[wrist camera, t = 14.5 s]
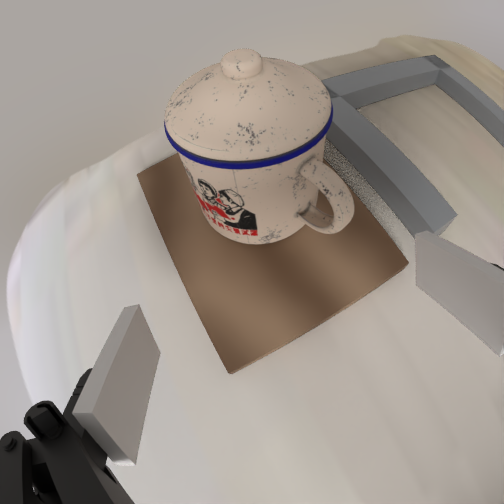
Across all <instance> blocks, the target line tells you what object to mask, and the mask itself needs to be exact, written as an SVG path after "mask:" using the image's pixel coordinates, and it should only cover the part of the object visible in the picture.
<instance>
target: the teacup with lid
mask: <svg viewBox="0 0 504 504" xmlns="http://www.w3.org/2000/svg"><path fill="white" fill-rule="evenodd" d="M332 119H333V105H332V101H331V99H330V95H329V93H328V91H327V89H326V87H325V86H324V84H323V83H322V82H321V81H320V80H319V79H318V78H317V77H316V76H315V75H314V74H313V73H311V72H310V71H308V70H307V69H305V68H303V67H301V66H299V65H296V64H294V63H291V62H288V61H284V60H280V59H274V58H266V57H261V56H260V54H259V53H257V52H256V51H254V50H251V49H237V50H233V51H230V52H228V53H227V54H225V55H224V56H223V58H222V59H221V62H220V63H217V64H214V65H212V66H209V67H207V68H204V69H202V70H200V71H199V72H197V73H195V74H194V75H192V76H191V77H189V78H188V79H187V80H185V81H184V82H183V83H182V84H181V85H180V86H179V87H178V88H177V89H176V90H175V92H174V93H173V95H172V96H171V98H170V100H169V102H168V104H167V107H166V111H165V121H164V127H165V132H166V135H167V138H168V140H169V142H170V143H171V145H172V146H173V147H174V148H175V149H176V150H177V151H178V153H179V156H180V158H181V161H182V163H183V165H184V168H185V170H186V173H187V175H188V178H189V180H190V183H191V185H192V188H193V190H194V192H195V195H196V197H197V200H198V202H199V204H200V207H201V209H202V212H203V214H204V216H205V218H206V220H207V221H208V222H209V224H210V225H211V226H212V227H213V228H214V229H215V230H216V231H217V232H219V233H220V234H221V235H223V236H225V237H227V238H229V239H231V240H234V241H237V242H241V243H246V244H267V243H272V242H276V241H279V240H282V239H284V238H287V237H289V236H291V235H292V234H294V233H295V232H297V231H298V230H299V229H301V228H302V227H303V226H304V225H305V224H306V225H308V226H309V227H311V228H312V229H314V230H316V231H318V232H321V233H324V234H334V233H337V232H339V231H341V230H342V229H343V228H344V227H345V226H347V224H348V223H349V222H350V221H351V219H352V217H353V214H354V201H353V198H352V195H351V193H350V191H349V189H348V187H347V186H346V184H345V183H344V181H343V180H342V179H341V178H340V177H339V176H338V175H337V174H336V173H335V172H334V171H333V170H332V169H331V168H329V167H328V166H327V165H325V164H324V163H323V155H324V147H325V139H326V133H327V131H328V130H329V128H330V125H331V123H332ZM319 190H320V191H321V192H322V193H323V194H324V195H325V197H326V198H327V199H328V201H329V203H330V205H331V206H332V209H333V212H334V216H332V215H328V214H326V213H324V212H322V211H321V210H319V209H318V208H316V203H317V198H318V191H319Z"/></svg>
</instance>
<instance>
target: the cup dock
mask: <svg viewBox="0 0 504 504" xmlns="http://www.w3.org/2000/svg"><path fill="white" fill-rule="evenodd" d="M321 82H322V83H323V84H324V86H325V87H326V89H327V91H328V93H329V95H330V99H331V101H332V105H333V119H332V123H331V125H330V128H329V130H328V131H327V133H326V138H327V139H328V140H329V141H330V142H331V143H332V144H333V145H334V146H335V147H336V148H337V149H338V150H339V151H340V152H341V153H342V154H343V155H344V156H345V158H346V159H347V160H348V161H349V162H350V163H351V164H352V165H353V166H354V167H355V168H356V169H357V170H358V171H359V173H360V174H361V175H362V176H363V177H364V178H365V179H366V180H367V181H368V183H369V184H370V185H371V186H372V187H373V188H374V189H375V191H376V192H377V193H378V194H379V195H380V196H381V197H382V199H383V200H384V201H385V202H386V203H387V205H388V206H389V207H390V208H391V209H392V211H393V212H394V213H395V214H396V215H397V217H398V218H399V219H400V220H401V222H402V223H403V224H404V225H405V227H406V228H407V229H408V231H409V232H410V233H411V234H412V236H413V237H414V238H415V234H417V233H420V232H424V231H429V232H431V233H433V234H435V235H437V236H438V235H440V234H441V233H442V232H444V231H445V230H446V228H447V227H448V226H449V225H450V224H451V222H452V221H453V220H454V219H455V217H456V216H457V213H456V212H455V211H454V210H453V208H452V207H451V206H450V205H449V204H448V202H447V201H446V200H445V199H444V198H443V196H442V195H441V194H440V193H439V192H438V191H437V189H436V188H435V187H434V186H433V185H432V184H431V183H430V182H429V180H428V179H427V178H426V177H425V176H424V175H423V174H422V173H421V172H420V171H419V170H418V168H417V167H416V166H415V165H414V164H413V163H412V162H411V161H410V160H409V159H408V158H407V157H406V156H405V155H404V154H403V153H402V152H401V151H400V150H399V149H398V148H397V147H396V146H395V145H394V144H393V143H392V142H391V141H390V140H389V139H388V138H387V137H386V136H385V135H384V134H383V133H382V132H380V131H379V130H378V129H377V128H376V127H375V126H374V125H373V124H372V123H371V122H370V121H368V120H367V119H366V118H365V117H364V116H363V115H362V114H360V113H359V112H358V111H357V110H356V109H357V108H360V107H363V106H365V105H368V104H371V103H374V102H377V101H380V100H383V99H386V98H390V97H393V96H396V95H399V94H402V93H406V92H409V91H412V90H416V89H419V88H422V87H426V86H429V85H433V84H436V85H437V86H438V87H439V88H441V89H442V90H443V91H444V92H446V93H447V94H448V95H449V96H451V97H452V98H453V99H454V100H455V101H456V102H458V103H459V104H460V105H461V106H462V107H463V108H464V109H466V110H467V111H468V112H469V113H470V114H471V115H472V116H473V117H474V118H475V119H476V120H478V121H479V122H480V123H481V124H482V125H483V126H484V127H485V128H486V129H487V130H488V131H489V132H490V133H491V134H492V135H493V136H494V137H495V138H496V139H497V140H498V141H499V142H500V144H501V145H502V146H503V147H504V110H502V109H501V108H500V107H499V106H498V105H497V104H496V103H495V102H494V101H493V100H492V99H491V98H489V97H488V96H487V95H486V94H485V93H484V92H482V91H481V90H480V89H479V88H478V87H477V86H475V85H474V84H473V83H472V82H470V81H469V80H468V79H467V78H465V77H464V76H463V75H462V74H460V73H459V72H458V71H456V70H455V69H454V68H452V67H451V66H450V65H448V64H447V63H446V62H444V61H443V60H441V59H440V58H438V57H437V56H436V55H431V56H424V57H419V58H413V59H407V60H402V61H397V62H392V63H388V64H383V65H379V66H374V67H370V68H366V69H362V70H358V71H354V72H350V73H347V74H343V75H339V76H336V77H332V78H329V79H325V80H322V81H321Z"/></svg>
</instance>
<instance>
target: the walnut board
mask: <svg viewBox="0 0 504 504" xmlns="http://www.w3.org/2000/svg"><path fill="white" fill-rule="evenodd" d="M323 163H324V164H325V165H327V166H328V167H329V168H331V169H332V170H333V171H334V172H335V173H336V174H337V172H336V171H335V170H334V169H333V168H332V167H331V166H330V165H329V164H328V163H327V161H326V160H325V159H324V158H323ZM337 175H338V174H337ZM338 176H339V175H338ZM137 177H138V179H139V182H140V184H141V187H142V189H143V192H144V194H145V197H146V199H147V202H148V204H149V207H150V209H151V211H152V214H153V216H154V219H155V221H156V223H157V226H158V228H159V230H160V233H161V235H162V237H163V240H164V242H165V244H166V247H167V249H168V251H169V253H170V256H171V258H172V260H173V262H174V265H175V267H176V269H177V271H178V273H179V275H180V278H181V280H182V282H183V284H184V286H185V288H186V290H187V293H188V295H189V297H190V299H191V301H192V303H193V305H194V307H195V309H196V311H197V313H198V315H199V317H200V319H201V321H202V323H203V325H204V327H205V329H206V331H207V333H208V335H209V337H210V339H211V341H212V343H213V345H214V347H215V349H216V351H217V353H218V355H219V357H220V358H221V360H222V362H223V364H224V366H225V368H226V370H227V372H228V373H229V374H233V373H235V372H237V371H239V370H241V369H242V368H244V367H246V366H248V365H250V364H252V363H254V362H256V361H257V360H259V359H261V358H263V357H265V356H267V355H268V354H270V353H272V352H274V351H276V350H277V349H279V348H281V347H283V346H284V345H286V344H288V343H290V342H291V341H293V340H295V339H297V338H298V337H300V336H302V335H303V334H305V333H307V332H308V331H310V330H312V329H313V328H315V327H317V326H318V325H320V324H322V323H323V322H325V321H327V320H328V319H330V318H331V317H333V316H335V315H336V314H338V313H339V312H341V311H342V310H344V309H346V308H347V307H349V306H350V305H352V304H353V303H355V302H356V301H358V300H359V299H361V298H362V297H364V296H366V295H367V294H368V293H370V292H371V291H373V290H374V289H376V288H377V287H379V286H380V285H382V284H383V283H385V282H386V281H388V280H389V279H390V278H392V277H393V276H395V275H396V274H397V273H399V272H400V271H402V270H403V269H404V268H405V267H406V266H407V265H408V263H409V262H408V260H407V259H406V258H405V256H404V255H403V254H402V252H401V251H400V250H399V248H398V247H397V246H396V244H395V243H394V242H393V240H392V239H391V238H390V236H389V235H388V234H387V233H386V231H385V230H384V229H383V227H382V226H381V225H380V224H379V222H378V221H377V220H376V219H375V217H374V216H373V215H372V214H371V212H370V211H369V210H368V209H367V208H366V206H365V205H364V204H363V203H362V201H361V200H360V199H359V198H358V197H357V196H356V194H355V193H354V192H353V191H352V190H351V188H350V187H349V186H348V185H347V184H346V183H345V182H344V183H345V184H346V186H347V187H348V189H349V191H350V193H351V195H352V198H353V201H354V214H353V217H352V219H351V221H350V222H349V223H348V224H347V226H345V227H344V228H343V229H342V230H341V231H339V232H337V233H334V234H324V233H321V232H318V231H316V230H314V229H312V228H311V227H309V226H308V225H306V224H305V225H304V226H303V227H302V228H301V229H299V230H298V231H297V232H295V233H294V234H292V235H291V236H289V237H287V238H284V239H282V240H279V241H276V242H272V243H267V244H246V243H241V242H237V241H234V240H231V239H229V238H227V237H225V236H223V235H221V234H220V233H219V232H217V231H216V230H215V229H214V228H213V227H212V226H211V225H210V224H209V222H208V221H207V220H206V218H205V216H204V214H203V212H202V209H201V207H200V204H199V202H198V200H197V197H196V195H195V192H194V190H193V188H192V185H191V183H190V180H189V178H188V175H187V173H186V170H185V168H184V165H183V163H182V161H181V158H180V156H179V153H177V154H175V155H173V156H171V157H169V158H167V159H165V160H163V161H161V162H159V163H157V164H155V165H153V166H151V167H150V168H148V169H146V170H144V171H142V172H140V173H138V174H137ZM339 177H340V176H339ZM340 178H341V177H340ZM341 179H342V178H341ZM342 180H343V179H342ZM343 181H344V180H343ZM316 208H318V209H319V210H321V211H322V212H324V213H326V214H328V215H332V216H334V212H333V209H332V206H331V205H330V203H329V201H328V199H327V198H326V197H325V195H324V194H323V193H322V192H321V191H320V190H319V191H318V198H317V203H316Z"/></svg>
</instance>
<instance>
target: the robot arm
mask: <svg viewBox="0 0 504 504" xmlns="http://www.w3.org/2000/svg"><path fill="white" fill-rule="evenodd" d="M415 251H416V286H418V287H419V288H420V289H421V290H423V291H424V292H425V293H426V294H428V295H429V296H430V297H431V298H432V299H434V300H435V301H436V302H437V303H439V304H440V305H441V306H442V307H443V308H445V309H446V310H447V311H448V312H449V313H450V314H452V315H453V316H454V317H455V318H456V319H458V320H459V321H460V322H461V323H462V324H463V325H464V326H466V327H467V328H468V329H469V330H470V331H471V332H472V333H474V334H475V335H476V336H477V337H478V338H479V339H480V340H481V341H483V342H484V343H485V344H486V345H487V346H488V347H489V348H490V349H491V350H492V351H494V352H495V353H496V354H497V355H498V356H499V357H500V356H502V355H503V354H504V269H503V268H501V267H500V266H498V265H496V264H492V263H489V262H487V261H485V260H483V259H482V258H480V257H478V256H476V255H474V254H472V253H470V252H468V251H467V250H465V249H463V248H461V247H459V246H457V245H455V244H453V243H451V242H449V241H447V240H445V239H443V238H441V237H439V236H437V235H435V234H433V233H431V232H429V231H424V232H420V233H417V234H415ZM159 357H160V351H159V348H158V346H157V344H156V342H155V340H154V338H153V335H152V333H151V331H150V329H149V326H148V324H147V322H146V320H145V317H144V315H143V313H142V310H141V308H140V305H139V304H138V305H133V306H129V307H125V308H124V309H123V311H122V313H121V315H120V316H119V318H118V320H117V322H116V324H115V326H114V328H113V330H112V331H111V333H110V335H109V337H108V339H107V341H106V343H105V345H104V347H103V349H102V351H101V353H100V355H99V357H98V359H97V361H96V363H95V365H94V367H93V368H91V369H88V370H87V371H86V372H85V373H84V374H83V375H82V376H81V377H80V379H79V381H78V383H77V385H76V388H75V389H74V392H73V396H71V398H70V400H69V402H68V404H67V406H66V408H65V410H64V412H63V415H62V414H61V412H60V411H59V410H58V408H57V407H56V406H55V405H54V403H53V402H51V401H41V402H39V403H37V404H35V405H34V406H32V407H31V408H30V409H29V410H28V412H27V413H26V415H25V417H24V424H25V425H26V427H27V428H28V429H29V430H30V431H31V432H32V434H33V435H34V436H35V437H36V438H34V439H30V440H26V439H25V438H24V437H23V436H22V434H20V432H18V431H11V432H9V433H6V434H5V435H4V436H3V437H2V438H1V440H0V504H134V502H133V501H132V500H131V498H130V497H129V496H128V494H127V493H126V491H125V490H124V489H123V487H122V486H121V484H120V483H119V482H118V480H117V479H116V477H115V476H114V474H113V473H112V471H111V470H110V469H109V468H108V467H107V466H106V465H105V464H106V460H107V457H109V458H110V459H111V460H112V461H113V462H114V463H115V464H116V465H136V460H137V455H138V450H139V445H140V440H141V435H142V430H143V425H144V421H145V416H146V412H147V407H148V403H149V398H150V394H151V390H152V385H153V381H154V377H155V373H156V369H157V365H158V361H159ZM33 487H34V490H33Z"/></svg>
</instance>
